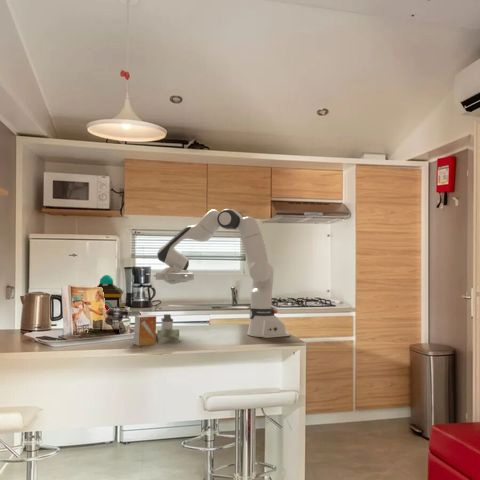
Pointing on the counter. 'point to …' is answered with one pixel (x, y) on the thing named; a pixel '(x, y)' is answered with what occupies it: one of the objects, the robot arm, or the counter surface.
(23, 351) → the counter surface
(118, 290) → the decorative lantern
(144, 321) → the small box
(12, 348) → the counter surface
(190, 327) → the counter surface
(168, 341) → the socket
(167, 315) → the connector
